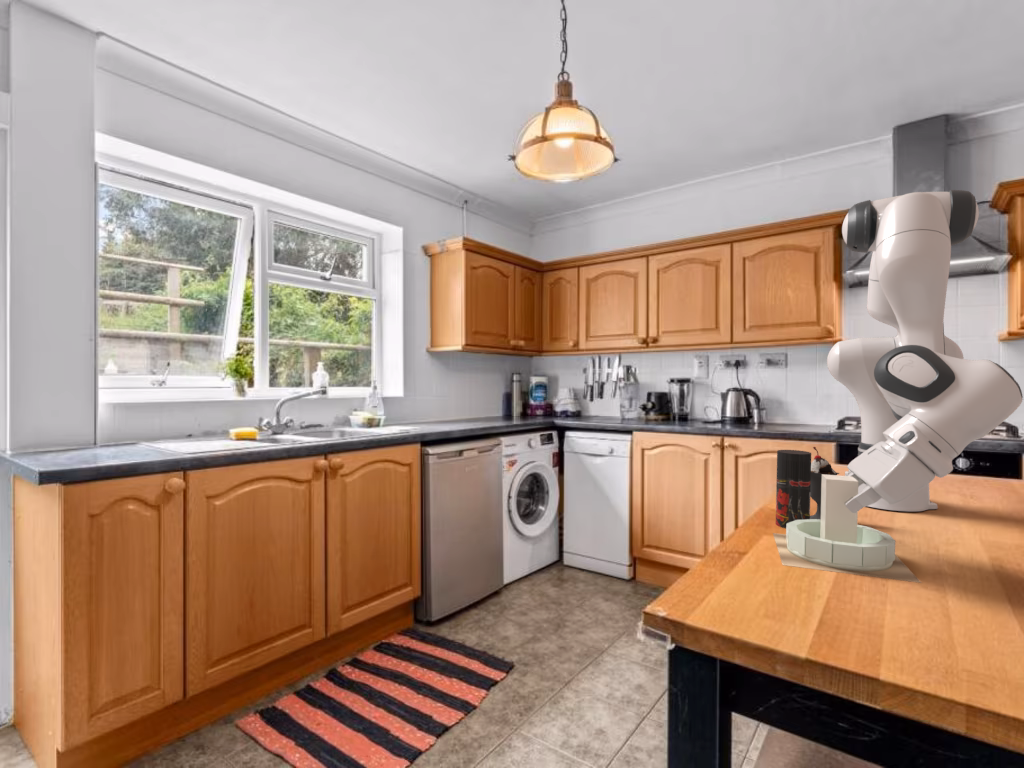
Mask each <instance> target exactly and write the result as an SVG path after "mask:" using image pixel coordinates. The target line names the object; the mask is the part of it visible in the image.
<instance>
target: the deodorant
mask: <svg viewBox="0 0 1024 768" xmlns="http://www.w3.org/2000/svg"><path fill="white" fill-rule="evenodd" d="M811 463H812V452H810V451H805V450H797V449H777V451H776V490H775V492H776V497H775V525H776V526H777V527H780V528H782V529H785V530H786V524H787V523H789V522H792V521H795V520H805V519H810V516H811V497H810V491H811Z"/></svg>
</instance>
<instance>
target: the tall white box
mask: <svg viewBox="0 0 1024 768" xmlns="http://www.w3.org/2000/svg"><path fill="white" fill-rule="evenodd" d="M856 495H858V481H857V480H856V479H855V478H854V477H852V476H845V475H839V474H837V475H825V474H822V483H821V525H820V538H822V539H827V540H831V541H837V542H846V543H855V544H857V525H858V518H859V517H858V512H859V511H858V512H856V513H852V512H851V511H850V510H849V509H848V508H847V507H846V506H845V504H844V503H845V502H846V501H847V500H848V499H849V498H851V497H853V498H854V497H855V496H856Z"/></svg>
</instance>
